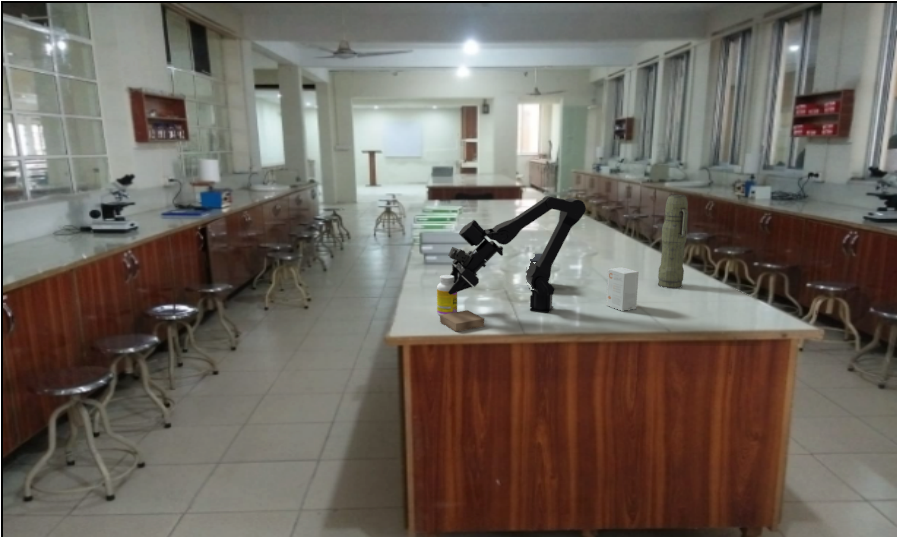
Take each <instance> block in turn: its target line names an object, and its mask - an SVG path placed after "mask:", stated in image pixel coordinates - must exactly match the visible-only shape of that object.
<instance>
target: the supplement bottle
mask: <svg viewBox="0 0 897 537" xmlns="http://www.w3.org/2000/svg"><path fill="white" fill-rule="evenodd" d="M453 281H454V276H452V275H450V274H442V275H440V276H439V283H438V284H437V286H436V314H437V315H438V316H439V317H440V315H443V314H448V313H454V312H458V292H456V293H454V294H451V295H450V294H449V293H448V292H449V290H450V289H451V287H452V286H453V285H454V282H453Z"/></svg>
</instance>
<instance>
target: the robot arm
mask: <svg viewBox="0 0 897 537" xmlns="http://www.w3.org/2000/svg"><path fill="white" fill-rule="evenodd" d="M551 210H556V211H559V216H558V222H557V224H556V226H555V227H554V230H553V232H552V234H551V236H550V238H549V240H548V242H547V244H546V246H545V248H544V250H543V252H541V253H542V255H541V257H540V259H539V260H538V261H537V262H536V263H535V264H534V263H533V262H531V263H530V266H529V269H528V270H527V269H526V271H525V273H527V275H525V280H527V282H528V283H529V284H530V285H531V287H532V289H534V290H533V291H531V295H530V297H529V300H530V303H529V304H530V305H529V307H530V308H529V311H531V312H532V311H533V312H541V313H550V312H551V311H552V310H553V308H554V306H553V295H554V293H555V290H556V288H555V287H554V286H553V285H552V284H551V283H550V282H549V281H550V278H551V274H552V267H553V265H554V263H555V261H556V259H557V256H558V255H559V252H560V250H561V249H562V247H563V244H564V243H565V241H566V239H567V237H568V236H569V234H570V232H571V229H572V228H573V227H574V226H575V225H576V224H577V223H578V222H579V221H580V220H581V218H582V217H583V216H584V215H585V212H586V211H587V207H586V203H585V202H584V201H582V199H581V200H580V199H578V198H574V197H569V198H566V199H564V198H559V197H554V196H551V195H546V196H544V197H543V198H542V199H541V200H539V201H538V202H536V203H535V204H533V205H531V206H530V207H528V208H527V209H525V210H524V211H523V212H521V213H520V214H518V215H517V216H515V217H513V218H512V219H508V220H505V221H503V222H501V223H497V224H496V225H494V226H493V227H492V228H487V229H484V228H483V227H482V226H481V225H480V224H479V222H477V220H476V219H472V220H471V221H470V222H468V223H467V224H465V225H464V226H463V227H462V228H461V230H460V231H459V233H458V236H460V237H461V238H462V239H463V240H464V241H465V242H466V243H467V244H468V245H469V246H470V247H474V246H475V247H476V248H474V249H473V250H469V251H468V252H466V251H465V250H464V249H462V248H456V247H454V246H452V247H451V249H450V251H449V253H448V256H449V257H448V258H450V259H452V263H451V268H452V269H451V272H450V274H449V275H452V276H454V281H453V282H454V285H453V286H452V287H451V289H450V290H449V292H448V293H449V294H450V295H451V294H454V293H456V292H457V293H459V292H461V291H464V290H467V289H470V288H471V289H472V288H475V287H476V286H478V285H479V282H480V281H479V280H480V279H479V277H478V272H479V271H480V270H481V269H482V268H485V267H486V266H487V264H486V263H488V262H489V260H490V259H492V258H493V256H495V254H498V255H499V256H501V257H502V256H503V255H504V252H503V250H504V247H503V246H501V245H505V246H506V245H509V243H511V242H512V240H514V239H515V238H517V236H518V234H519V233H520V232H521V231H522V230H523V229H525V227H527V226H528V225H530V224H531V223H533V222H534V221H536V220H538V219H539V218H541V217H542V216H543V215H545V214H546V213H548V212H549V211H551ZM487 238H488V239H489V240H490V241H489V240H488V239H487ZM497 243H498V244H499V245H498V244H497ZM527 282H526V283H527Z"/></svg>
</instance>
